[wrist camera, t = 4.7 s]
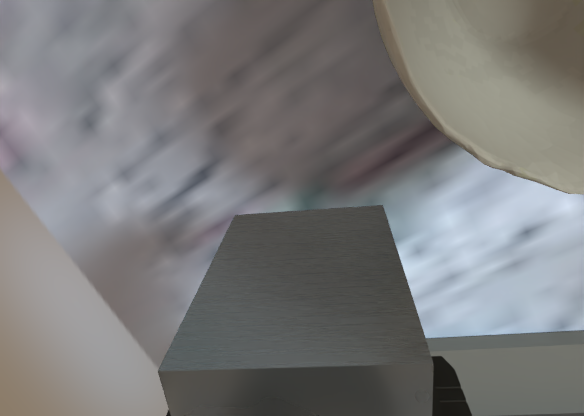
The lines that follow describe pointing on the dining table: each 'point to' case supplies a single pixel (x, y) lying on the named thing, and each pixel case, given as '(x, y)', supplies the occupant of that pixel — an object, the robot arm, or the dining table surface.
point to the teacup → (497, 79)
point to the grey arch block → (302, 323)
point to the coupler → (518, 372)
